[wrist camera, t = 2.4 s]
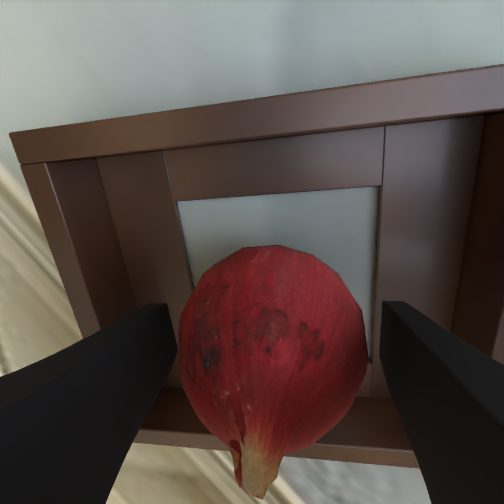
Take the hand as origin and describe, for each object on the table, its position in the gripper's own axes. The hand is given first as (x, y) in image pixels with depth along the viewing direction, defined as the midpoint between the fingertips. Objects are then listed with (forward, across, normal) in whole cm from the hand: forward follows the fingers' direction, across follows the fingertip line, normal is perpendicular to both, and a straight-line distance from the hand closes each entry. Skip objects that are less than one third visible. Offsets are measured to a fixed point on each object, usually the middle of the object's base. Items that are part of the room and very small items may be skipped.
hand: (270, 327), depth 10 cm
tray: (+3, 0, 0) cm, 3 cm away
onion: (+3, 0, 0) cm, 4 cm away
